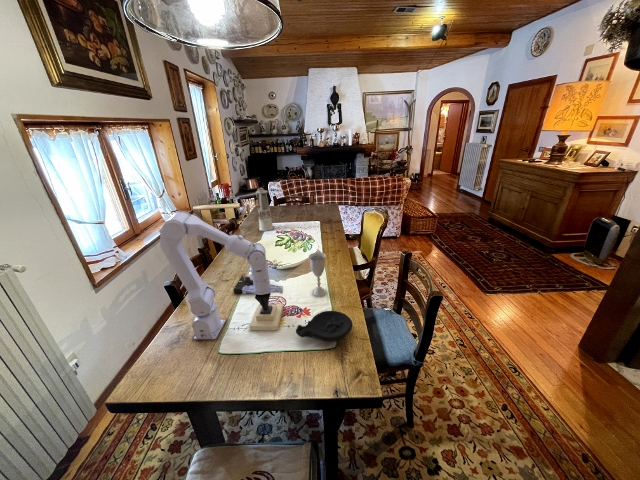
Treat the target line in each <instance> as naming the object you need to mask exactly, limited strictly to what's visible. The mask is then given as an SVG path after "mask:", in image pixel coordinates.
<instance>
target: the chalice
mask: <svg viewBox="0 0 640 480" xmlns="http://www.w3.org/2000/svg"><path fill="white" fill-rule="evenodd" d="M326 255H327V254H326V253H324V252H321V251H319V252H312V253H310V254H309V255H308V259H309V265H310V266H309V267H310V270H311V272H312V274H313V275H314V277H316V281H317V282H316V285H317V287H315V289H314V291H313V295H314V296H315V297H324V295H325V294H326V291H325V289H324V288H323V287H322V286H321V284H322V283H321V276H322V275H323V273H324V271H325V268H326V260H325V259H326Z"/></svg>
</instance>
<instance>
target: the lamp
mask: <svg viewBox="0 0 640 480" xmlns="http://www.w3.org/2000/svg"><path fill="white" fill-rule="evenodd" d="M268 192H269V191H268V190H265V189H264V188H263V187H260V188H257V190H256V191H255V196H256V197H258V200H259V201H258V200H256V205H257V209H256V210H257V212H258V226H259V229H258V230H259V231H261V232H266V231H267V232H269V231H272V230H273V229H274V226H273V225H274V224H273V219H272V214H271V212H270V211H271V208H270V206H269V199H268ZM258 202H259V203H258ZM263 212H264V213H265V215H264V216H261V213H263ZM268 212H269V215H270V216H269V215H268Z"/></svg>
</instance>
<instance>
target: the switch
mask: <svg viewBox="0 0 640 480" xmlns="http://www.w3.org/2000/svg"><path fill="white" fill-rule="evenodd" d="M271 311H272V305H269V304H268V309H267V310H263V308H261V311H260V313H261V314H271Z"/></svg>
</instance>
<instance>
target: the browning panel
mask: <svg viewBox="0 0 640 480" xmlns="http://www.w3.org/2000/svg"><path fill="white" fill-rule="evenodd" d="M252 285H254V284H253V283H248V282H246V281H244V279H243V274H241V276H240V277H239V279H238V281H237V283H236V284H235V286H234V287H233V294H234V295H244V294H243V292H242V289H243V287H247V286H252ZM248 294H249V295H251V294H253V295H255V294H254V293H246V294H245V295H248Z"/></svg>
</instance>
